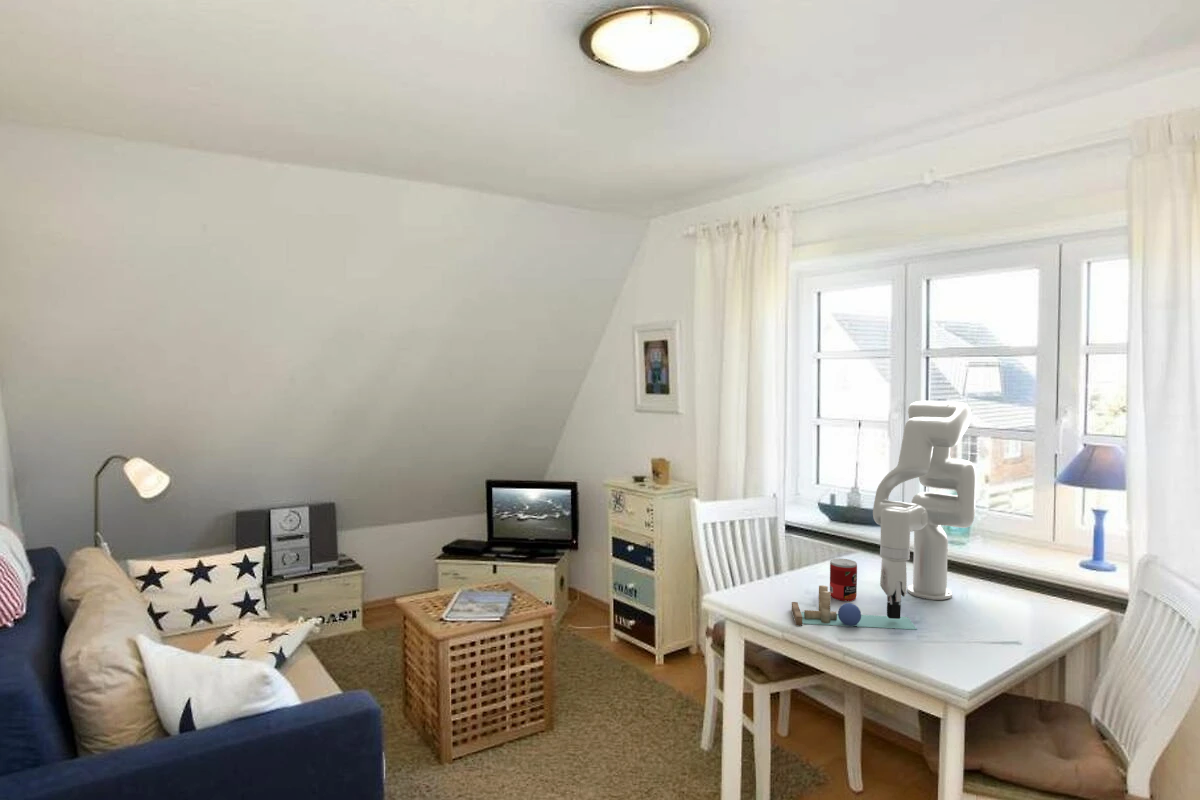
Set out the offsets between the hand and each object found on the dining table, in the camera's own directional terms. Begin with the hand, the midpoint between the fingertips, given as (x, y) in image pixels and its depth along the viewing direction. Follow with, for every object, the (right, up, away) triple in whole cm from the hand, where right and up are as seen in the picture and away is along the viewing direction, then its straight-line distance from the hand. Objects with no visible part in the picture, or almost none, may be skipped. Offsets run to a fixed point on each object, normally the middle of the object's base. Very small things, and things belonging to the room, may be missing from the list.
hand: (893, 617), depth 199 cm
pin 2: (-19, -2, +1) cm, 19 cm away
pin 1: (-18, -1, +5) cm, 19 cm away
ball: (-13, +1, -2) cm, 13 cm away
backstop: (-26, -1, +4) cm, 26 cm away
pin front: (-15, 0, +2) cm, 15 cm away
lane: (-10, -1, +2) cm, 10 cm away
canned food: (-7, -1, +21) cm, 22 cm away
